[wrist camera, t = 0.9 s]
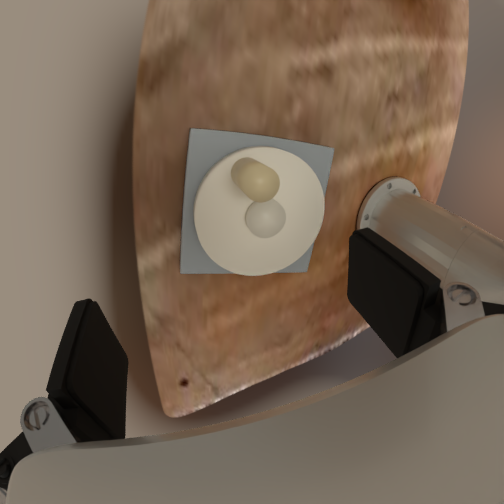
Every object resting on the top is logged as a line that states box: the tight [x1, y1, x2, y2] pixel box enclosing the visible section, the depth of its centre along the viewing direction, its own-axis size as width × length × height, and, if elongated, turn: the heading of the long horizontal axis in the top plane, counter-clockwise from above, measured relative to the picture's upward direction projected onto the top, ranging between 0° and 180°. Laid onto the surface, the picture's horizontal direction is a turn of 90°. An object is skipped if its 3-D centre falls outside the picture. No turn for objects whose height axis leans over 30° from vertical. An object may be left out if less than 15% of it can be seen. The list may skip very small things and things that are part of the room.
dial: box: [193, 146, 325, 276], centre depth 28 cm, size 14×14×7 cm
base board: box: [180, 128, 334, 274], centre depth 32 cm, size 16×16×2 cm
